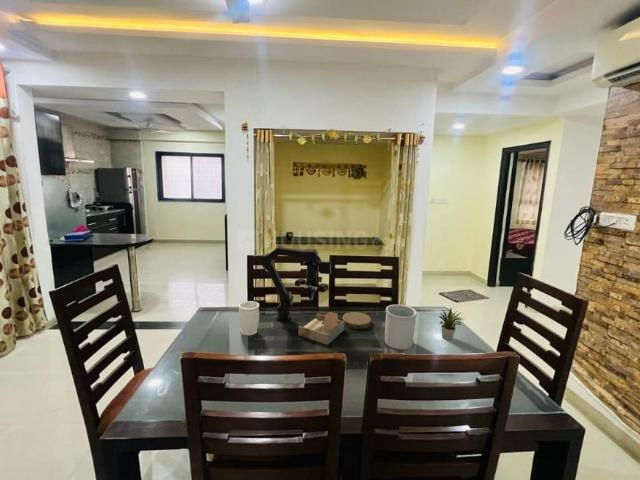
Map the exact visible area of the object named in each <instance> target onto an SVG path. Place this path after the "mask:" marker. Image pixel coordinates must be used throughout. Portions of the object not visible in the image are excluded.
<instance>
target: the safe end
mask: <svg viewBox="0 0 640 480" xmlns="http://www.w3.org/2000/svg"><path fill="white" fill-rule="evenodd" d="M344 330H345V325H344V321H342V320H340V319H338V321H337V327H336V328H334V329H333V330H332V331H331V332H330V333H328V332H324V330H323V331H322V332H318V331H316V341H315V342H318V343H321V344H324V345H327V346H329V344H330V343H331V342H332V341H334V340H335V339H336V338H338V336H339V335H340V334H341V333H343V331H344Z"/></svg>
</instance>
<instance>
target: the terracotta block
mask: <svg viewBox="0 0 640 480" xmlns="http://www.w3.org/2000/svg"><path fill="white" fill-rule="evenodd" d="M324 316H325V318H324V332H328V333H330V332H331V331H332V330H333V329H334V328H336V327H337V321H338V320H339V318H338V316H339V314H338V313H336V312H332V311H328V312H327V313H325V314H324Z"/></svg>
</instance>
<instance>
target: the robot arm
mask: <svg viewBox="0 0 640 480" xmlns="http://www.w3.org/2000/svg"><path fill="white" fill-rule="evenodd" d="M278 256H284V257H285V256H286V257H291V258H297V259H301V260H304V261H303V263H302V265H303V266H306V274H305V275H304V277H305V279H304V278H298V279H296V280H295V281H294V286H295V287H300V286H301V285H303V288H302V289H303V290H304V291H305V293H306V295H307V297H308V299H309V300H310V301H312V300H313V299H314V296H315V294H316V292H317V291H318V292H320V293H325V292H327V291H329V289H330V288H329V284H327V283H323V282H322V281H323V276H319V274H320V275H321V274H323V275H331V273H332V261H325V260H324V261H322V259H321V257H320V256H319V253H318V251H317V250H316V249H314V248H311V249H309V248H308V249H297V248H290V247H289V248H288V247H284V246H283V247H282V246H281V245H280V246H277V247H276V248H274V249H273V250H272V251H271V252H270V253H268V252H267V253H265V254H264V255H263V256H261V258H260V259H259V261H260V264H261V266H262V268H264V269H265V271H267V273H268V274H269V277H270V279H271V281H272V282H273V284H274V286H275V289H276V290H277V293H278V297H279V304H278V306H277V307H276V310H277V314H276V315H277V317H276V318H275V320H276V321H279V322H281V323H282V322H283V323H287V322H288V321H289V320H291V319H292V317H291V310H290V308H291V307H292V304H293V303H294V296H293V295H292V291H288V290H287V289H286V287H285V285H284V282H283V280H282V279H281V276H280V275H279V272H278V270H277V268H276V262H275V259H276V258H277V257H278ZM318 273H319V274H318ZM319 283H320V284H319Z"/></svg>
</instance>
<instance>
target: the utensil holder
mask: <svg viewBox="0 0 640 480" xmlns="http://www.w3.org/2000/svg"><path fill="white" fill-rule="evenodd" d="M417 314H418V312H417V310H416V309H415V308H413V307H411V306H408V305H404V304H390V305H388V306H386V308H385V322H384V323H385V325H384V327H385V328H384V342H385V344H386V345H387V346H388V347H390V348H393V349H396V350H409V349H411V347H413V341H414V335H415V327H416V319H417V316H418V315H417Z"/></svg>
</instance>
